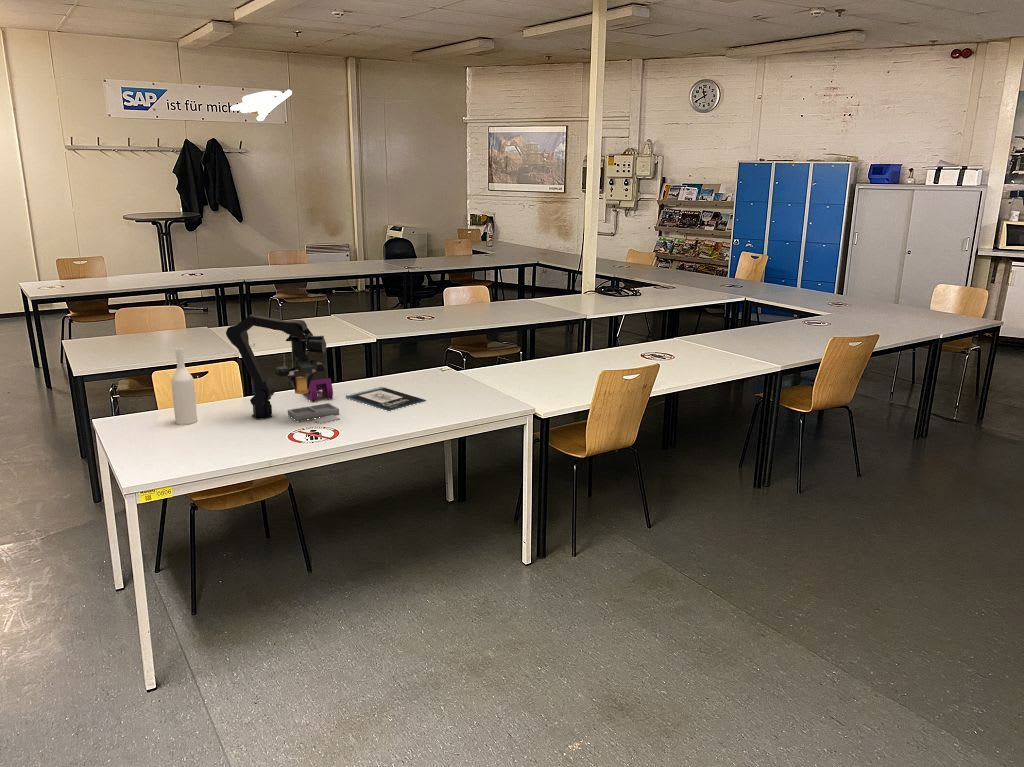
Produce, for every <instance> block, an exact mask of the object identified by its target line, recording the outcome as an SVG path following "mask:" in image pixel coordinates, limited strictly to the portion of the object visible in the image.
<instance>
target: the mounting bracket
mask: <svg viewBox="0 0 1024 767" xmlns="http://www.w3.org/2000/svg"><path fill="white" fill-rule="evenodd" d="M319 391H321V392H322V396H323V398H324V399H325V398H326V399H325V400H329V399H330V400H331V398H332V399H333V397H334V389H333V384H332V378H331V377H330V378H322V379H321V378H320V379H314V380H313V379H311V382H310V385H309V388H308V393H306V397H307V399H308V401H309V400H310V401H309V402H315V400H316V401H317V399H318V392H319Z"/></svg>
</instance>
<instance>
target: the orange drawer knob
mask: <svg viewBox="0 0 1024 767" xmlns="http://www.w3.org/2000/svg"><path fill="white" fill-rule="evenodd" d="M295 380H296V391H295V390H294V394H297V395H304V394H306V395H307V393H308V389H307V377H305V376H296V378H295Z"/></svg>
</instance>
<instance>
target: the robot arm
mask: <svg viewBox="0 0 1024 767" xmlns="http://www.w3.org/2000/svg"><path fill="white" fill-rule="evenodd" d="M252 327H259V328H265V329H270V330H276V331H281V332H283V333H285V334H286V335H289V336H288V337H287V338H286V339H285V341H286V342H290V343H291V344H290V345H291V353H290V355H291V360H292V363H291V367H287V366H285V365H281V366H276V367H275V369H274V374H275V376H278V377H281V378H282V377H287V378H288V380H289V381H290V383H291V385H292V387H293V389H294V392H295V391H296V380H295V378H296V377H297V375H296V374H295V373H298V372H299V374H300V375H305V376H304V377H307V389H308V388H309V385H310V382H311V380H313V377H314V376H315V375H317V373H319V372H325V371H326V366H325V364H324V363H322V362H320V361H317V360H316V359H312V360H311V359H309V355H308V352H309V353H310V354H311V353H312V354H315V353H316V354H320V353H321V354H325V353H326V351H327V342H326V339H325V335H314V334H313V332H311V330H310V329H309V328H308V325H307V323H306V322H305V320H303V319H279V318H274V317H268V316H262V315H258V314H253V313H252V314H249V315H248V316H246V318H244V319H243V320H242V321H240V322H239V323H236V324H233V325H231V326H229V327H227V329H226V331H225V334H226V335H225V336H226V338H227V339H228V340H229V342H230V343H231V344H232V345H233V346H234V347H235V348H236V349H237V350H238V352H239V354H240V356H241V359H242V360H243V362H244V365H245V367H246V369H247V371H248V373H249V375H250V377H251V379H252V382H253V386H252V387H253V391H254V395H253V396H252V397H251V398H250V399H249V401H250V404H251V405H252V414H251V416H252V417H253V418H254V417H255V418H254V419H256V420H262V418H263V419H267V417H268V418H272V416H273V408H272V404H271V401H270V400H271V398H272V397H273V396H274V395H275V392H276V385H275V384H274V381H273V379H272V377H269V378H267V376H265V375H264V373H263V370H262V368H261V366H260V364H259V362H258V359H257V357H256V356H255V354H254V351H253V350H252V347H251V345H250V340H249V339H250V338H249V333H248V331H249V330H250V329H252Z"/></svg>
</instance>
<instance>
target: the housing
mask: <svg viewBox="0 0 1024 767" xmlns="http://www.w3.org/2000/svg"><path fill="white" fill-rule="evenodd" d="M338 414H339V415H340V408H339V407H337V406H336V405H333V404H332V403H329V402H327V403H321V404H315V405H308V406H304V407H298V408H297V407H296V408H292V409H291V408H290V409H287V416H288V415H289V416H290V417H289V416H288V417H289V418H291V417H292V418H293V419H292V418H291V419H292V420H294V419H295V420H296V421H295V420H294V421H295V422H297V421H300V422H302V421H301V420H306V421H308V420H307V419H311V420H313V419H312V418H319V417H325V416H329V415H334V416H337V415H338ZM339 415H338V416H339Z"/></svg>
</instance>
